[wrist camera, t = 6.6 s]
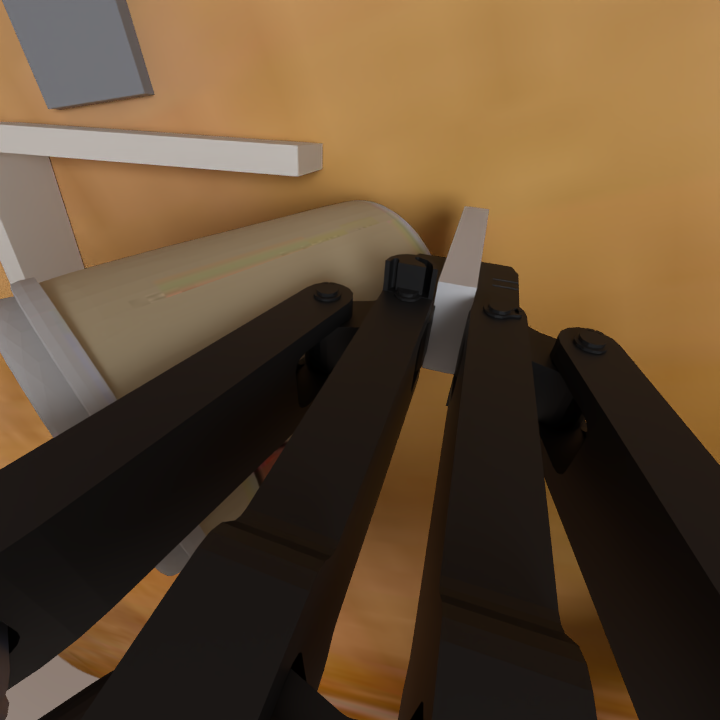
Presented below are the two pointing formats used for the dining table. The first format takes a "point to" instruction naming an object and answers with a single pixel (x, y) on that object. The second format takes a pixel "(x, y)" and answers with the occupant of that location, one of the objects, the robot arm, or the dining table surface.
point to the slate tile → (80, 50)
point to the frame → (39, 141)
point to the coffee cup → (184, 314)
